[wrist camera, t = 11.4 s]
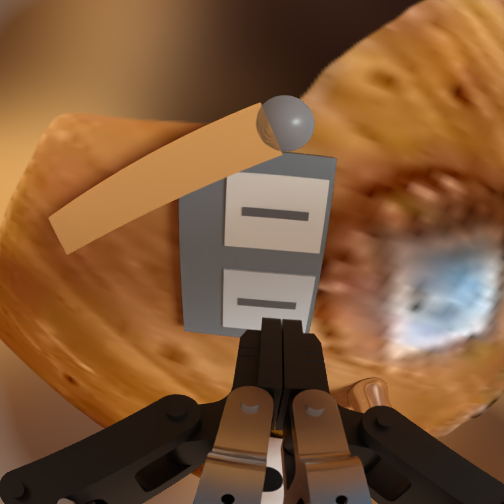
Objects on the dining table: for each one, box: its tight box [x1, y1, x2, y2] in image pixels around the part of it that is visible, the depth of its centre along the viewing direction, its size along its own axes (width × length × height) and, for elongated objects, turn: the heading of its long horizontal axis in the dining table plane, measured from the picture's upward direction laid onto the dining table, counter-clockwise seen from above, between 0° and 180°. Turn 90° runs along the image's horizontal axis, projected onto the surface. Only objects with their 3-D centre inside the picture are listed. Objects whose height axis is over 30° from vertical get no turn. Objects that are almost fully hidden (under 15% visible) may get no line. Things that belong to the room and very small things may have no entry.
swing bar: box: [48, 96, 314, 255], centre depth 23 cm, size 24×4×2 cm, turn 113°
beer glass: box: [347, 378, 392, 413], centre depth 31 cm, size 7×7×15 cm
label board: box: [179, 152, 337, 337], centre depth 30 cm, size 14×20×2 cm
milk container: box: [261, 436, 284, 504], centre depth 38 cm, size 17×17×18 cm
